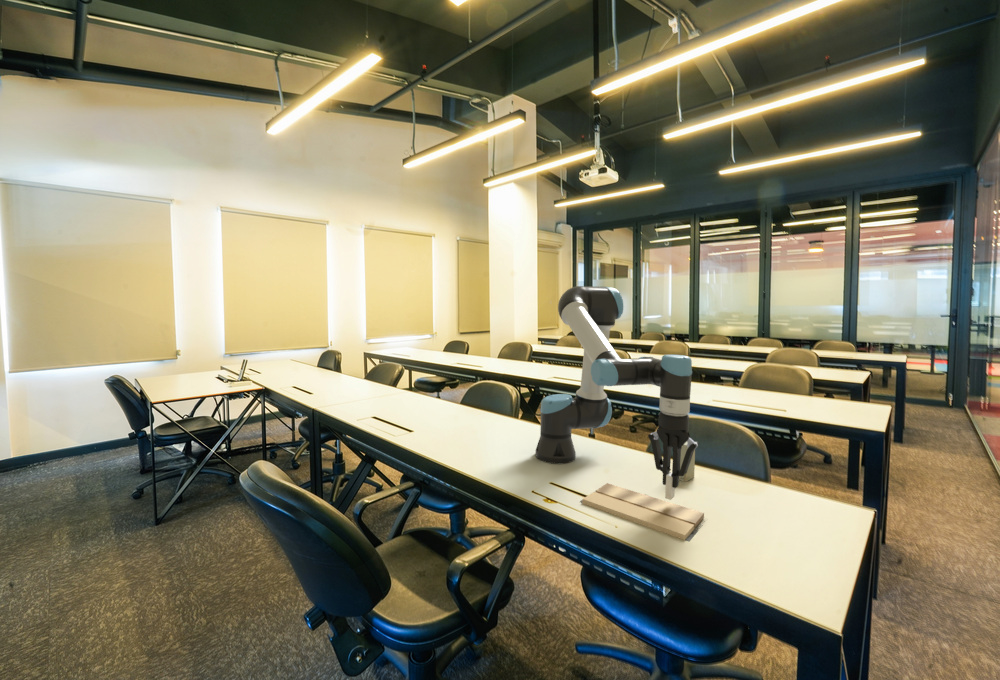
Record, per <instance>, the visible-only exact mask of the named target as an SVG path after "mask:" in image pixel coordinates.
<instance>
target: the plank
mask: <svg viewBox="0 0 1000 680" xmlns="http://www.w3.org/2000/svg"><path fill="white" fill-rule="evenodd" d="M595 492H597V493H600V494H603V495H606V496H609V497H612V498H615V499H618V500H621V501H624V502H627V503H630V504H633V505H636V506H639V507H642V508H645V509H648V510H651V511H654V512H657V513H660V514H663V515H666V516H669V517H672V518H675V519H678V520H681V521H684V522H687V523H690V524H693V525H694V529H697V527H698V526H699V525H700V524H701V522H702V521H703V520H704V519H705V512H702V511H699V510H696V509H692V508H689V507H686V506H682V505H680V504H676V503H672V502H670V501H666V500H663V499H659V498H656V497H653V496H650V495H647V494H643V493H641V492H637V491H634V490H631V489H627V488H626V487H625V488H624V487H622V486H618V485H614V484H611V483H608V482H607V483H605V484H603V485H602V486H601V487H599V488H598V489H596V490H595Z"/></svg>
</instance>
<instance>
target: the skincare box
mask: <svg viewBox="0 0 1000 680" xmlns="http://www.w3.org/2000/svg"><path fill="white" fill-rule="evenodd" d="M687 444H688V443H687V442H686V443H685V444H684V445H683V446H682V449H681V459H680V469H681V466H682V463H683V460H684V457H685V454H686V451H687V449H688V447H687ZM695 459H696V449H695V450H694V452H693V455H692V458H691V461H690V464H689V467H688V470H687V473H686V474H685V475H684V476H679V481H683V482H687V481H689V480H692V479H694V478H695V466H696V465H695V463H696V462H695V461H696V460H695Z"/></svg>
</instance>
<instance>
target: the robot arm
mask: <svg viewBox="0 0 1000 680" xmlns="http://www.w3.org/2000/svg"><path fill="white" fill-rule="evenodd" d="M557 311H558V315H559V317H560V319H561V321H562V322H563V323H564V324H565V325H566V326H569V328H570V330H571V331H572V332H573V334H574V336H575V338H576V339H577V341H578V343H579V344H580V345H581V347H582V349H583V356H582V357H583V359H582V368H581V369H582V370H581V379H580V388H579V389H577V390H576V392H575V397H572V395H571V394H567V393H557V394H550V395H547V396H545V397H543V399H542V400H541V403H540V411H539V412H540V435H539V438H538V442H537V444H536V448H535V458H536V459H537V460H539V461H541V462H544V463H548V464H555V465H556V464H568V463H569V464H570V463H571V462H575V460H576V455H577V453H576V449H575V446H574V443H573V439H572V438H573V437H572V430H577V429H580V430H581V429H597V428H602V427H605V426H607V425H608V424H609V422H610V420H611V418H612V413H613V408H612V402H611V400H610V399H609V398H608V394H607V393H606V391H604V390H605V387H616V386H617V387H618V386H638V385H641V386H642V385H643V386H645V385H652V386H657V387H659V388H660V389H659V406H658V407H659V408H658V409H659V411H660V412H659V413H658V426H657V429H656V431H654V432H651V433H649V434H647V438H648V439H649V441H650V443H651V447H652V448H651V449H652V454H653V460H654V464H655V468H656V470H657V471H660V472H661V473H662V484H663V485H664V486H665V491H664V492H665V495H664V497H665V499H666V500H669V501H671V500H673V499H674V498H675V493H676V491H675V490H676V489H677V488H678V487H679V484H680V483H679V482H680V480H679V476H684V475H685V474H686V473H687V470H688V467H689V464H690V461H691V458H692V455H693V452H694V450H695V451H696V449H697V448H698V446H699V444H700V443H699V442H698V441H694V440H693V438H691V434H690V432H689V429H690V428H689V427H690V426H689V425H690V415H689V413H690V411H691V409H690V408H691V391H692V389H691V387H692V375H693V370H692V369H693V366H692V364H693V362H692V358H691V357H690V356H689V355H688V356H687V355H682V354H664V355H662V357H661V359H659V358H656V357H653V356H640V357H637V358H621V357H620V356H619V353H617V352H616V350H615V349H614V348H613V345H611V343H610V342H609V341H610V333H611V331H610V330H611V329H612V328H613V327H615V325H616V320H619V319H620V318H621V317H622V315H623V313H624V300H623V296H622V295H621V293H620V291H619V290H618V289H617V288H616V287H615V288H614V287H610V286H583V285H578V286H573V287H570V288H568V289H566V291H565V292H563V293H562V295H561V296H560V298H559V300H558V304H557ZM659 439H660V440H659ZM660 441H661V443H662V450H661V444H660ZM686 442H687V443H688V444H687V447H688V449H687V451H686V454H685V457H684V460H683V463H682V466H681V469H680V459H681V449H682V446H683V445H684V444H685V443H686ZM662 451H663V452H662ZM671 460H672V462H671ZM671 464H672V465H671Z"/></svg>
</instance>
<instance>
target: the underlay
mask: <svg viewBox="0 0 1000 680" xmlns="http://www.w3.org/2000/svg"><path fill="white" fill-rule="evenodd" d="M581 499H582V500H580V501H579V503H582V504H584V505H587V506H589V507H592V508H595V509H598V510H600V511H603V512H605V513H606V512H607V513H609V514H612V515H615V516H616V517H620V518H623V519H626V520H627V521H631V522H634V523H636V524H639V525H643V526H645V527H647V528H650V529H653V530H656V531H659V532H661V533H665V534H667V535H670V536H672V537H676V538H679V539H681V540H683V541H687V542H690V541H691V540H692V539H693V538H694V537H695V535H696V533H698V531H700V529H699V527H696V528H694V525H693V524H690V523H687V522H684V521H681V520H678V519H675V518H672V517H669V516H666V515H663V514H660V513H657V512H654V511H651V510H648V509H645V508H642V507H639V506H636V505H633V504H630V503H627V502H624V501H621V500H618V499H615V498H612V497H609V496H606V495H603V494H600V493H597V492H596V491H593V492H591V493H590V494H588V495H586V496H585V497H583V498H581ZM706 521H707V519H704V522H703V521H701V522H700V527H703V525H704V524H705V523H706Z"/></svg>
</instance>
